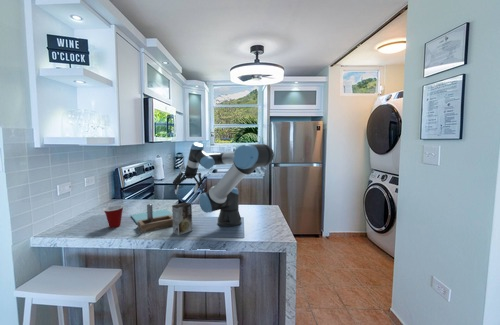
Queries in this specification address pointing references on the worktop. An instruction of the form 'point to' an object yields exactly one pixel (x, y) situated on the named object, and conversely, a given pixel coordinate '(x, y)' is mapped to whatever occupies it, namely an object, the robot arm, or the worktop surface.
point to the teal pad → (155, 214)
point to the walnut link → (155, 223)
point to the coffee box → (182, 218)
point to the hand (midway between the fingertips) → (185, 192)
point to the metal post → (149, 213)
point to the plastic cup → (114, 215)
